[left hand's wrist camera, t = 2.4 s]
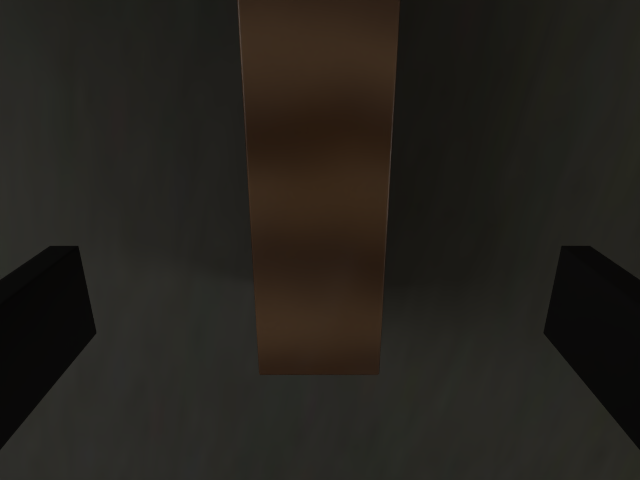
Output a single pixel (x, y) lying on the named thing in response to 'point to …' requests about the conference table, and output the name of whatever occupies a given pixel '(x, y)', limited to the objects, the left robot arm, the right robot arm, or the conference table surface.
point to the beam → (318, 177)
